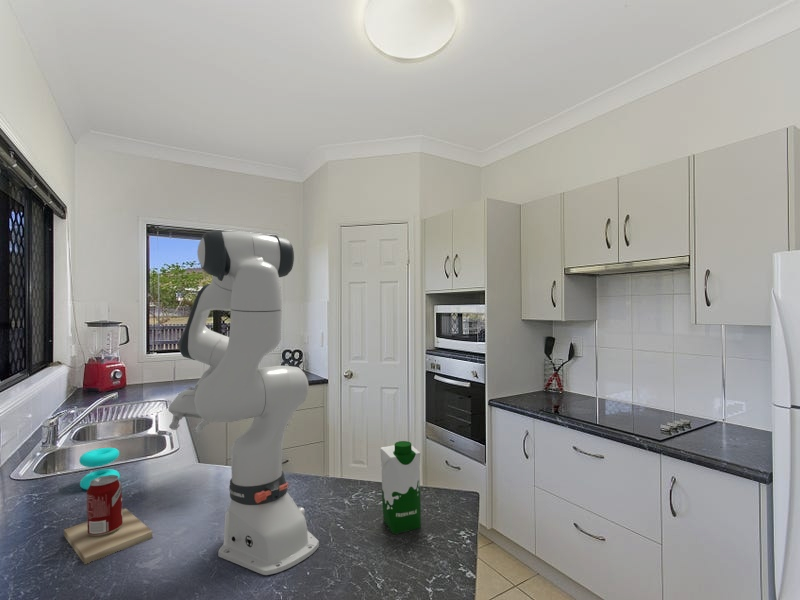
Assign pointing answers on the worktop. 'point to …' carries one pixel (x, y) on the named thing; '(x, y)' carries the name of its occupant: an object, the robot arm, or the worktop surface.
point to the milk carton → (401, 487)
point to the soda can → (104, 505)
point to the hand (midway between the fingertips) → (183, 430)
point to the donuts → (98, 464)
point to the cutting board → (107, 538)
